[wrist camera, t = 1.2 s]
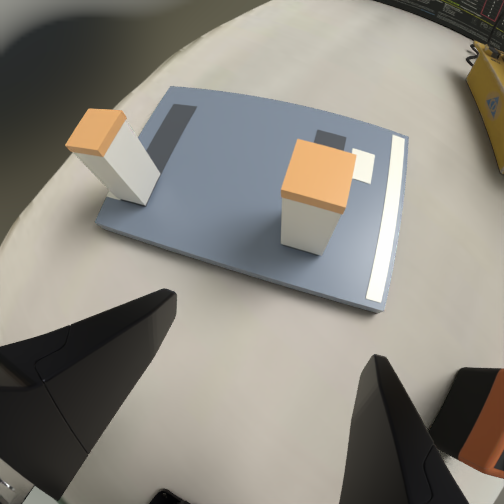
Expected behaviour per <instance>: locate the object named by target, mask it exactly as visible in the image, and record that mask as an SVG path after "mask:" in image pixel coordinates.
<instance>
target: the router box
mask: <svg viewBox="0 0 504 504" xmlns="http://www.w3.org/2000/svg"><path fill="white" fill-rule="evenodd" d="M375 1H379V2H382V3H385V4H388V5H391V6H395V7H398V8H401V9H404V10H406V11H409V12H412V13H414V14H417V15H420V16H422V17H425V18H427V19H430V20H432V21H435V22H437V23H439V24H442V25H444V26H446V27H449V28H451V29H453V30H455V31H457V32H459V33H461V34H463V35H465V36H467V37H469V38H471V39H473V40H475V41H477V42H479V43H482V44H484V45H486V44H487V40H488V37H489V35H490V33H491V31H492V29H493V27H494V25H495V23H496V21H497V19H498V18H499V16H500V15H501V13H502V12H503V11H504V0H375ZM490 47H493V48H494V49H495V48H496V49H497V50H500V51H502V52H504V16H503V17H502V19H501V20H500V22H499V23H498V25H497V27H496V29H495V31H494V33H493V35H492V38H491V40H490Z"/></svg>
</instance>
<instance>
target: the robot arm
mask: <svg viewBox="0 0 504 504" xmlns="http://www.w3.org/2000/svg"><path fill="white" fill-rule="evenodd" d="M176 308H177V294H176V293H175V292H174V291H171V290H168V289H165V288H164V289H161V290H158V291H156V292H153V293H150V294H148V295H145V296H143V297H140V298H138V299H135V300H132V301H130V302H127V303H125V304H122V305H120V306H117V307H114V308H112V309H109V310H107V311H104V312H102V313H99V314H96V315H94V316H91V317H89V318H86V319H84V320H81V321H78V322H76V323H73V324H71V326H70V325H68V326H65V327H63V328H60V329H57V330H55V331H52V332H49V333H46V334H43V335H40V336H37V337H33V338H30V339H27V340H23V341H19V342H16V343H12V344H8V345H5V346H1V347H0V504H22V503H23V502H24V500H25V499H26V497H27V496H28V495H29V493H30V492H31V490H32V489H33V487H34V486H36V487H38V488H39V489H40V490H42V491H43V492H45V493H46V494H48V495H49V496H51V497H52V498H54V499H55V500H57V501H58V500H59V499H60V498H61V496H62V495H63V493H64V492H65V490H66V488H67V487H68V485H69V484H70V482H71V481H72V479H73V478H74V476H75V475H76V473H77V472H78V470H79V468H80V467H81V465H82V464H83V462H84V461H85V459H86V458H87V456H88V454H89V453H90V451H91V450H92V448H93V447H94V445H95V444H96V442H97V441H98V439H99V438H100V436H101V435H102V433H103V432H104V430H105V429H106V427H107V426H108V424H109V423H110V421H111V420H112V418H113V417H114V416H115V414H116V413H117V411H118V410H119V408H120V407H121V405H122V404H123V402H124V401H125V399H126V398H127V396H128V395H129V393H130V392H131V390H132V389H133V387H134V386H135V385H136V383H137V382H138V380H139V379H140V377H141V376H142V374H143V373H144V371H145V370H146V369H147V367H148V366H149V364H150V363H151V361H152V360H153V358H154V357H155V355H156V353H157V351H158V349H159V347H160V346H161V344H162V342H163V340H164V338H165V336H166V334H167V332H168V330H169V328H170V327H171V325H172V323H173V321H174V319H175V316H176ZM433 443H434V442H433V440H432V438H431V436H430V434H429V432H428V430H427V429H426V427H425V425H424V423H423V421H422V419H421V417H420V415H419V414H418V412H417V410H416V408H415V406H414V405H413V403H412V401H411V399H410V397H409V396H408V394H407V392H406V390H405V388H404V387H403V385H402V383H401V381H400V380H399V378H398V376H397V374H396V373H395V371H394V369H393V368H392V366H391V364H390V362H389V361H388V359H387V358H386V357H385V356H381V355H377V354H374V355H373V356H372V357H371V358H370V360H369V361H368V363H367V365H366V366H365V368H364V369H363V371H362V373H361V376H360V380H359V385H358V390H357V395H356V400H355V405H354V409H353V414H352V419H351V426H350V435H349V443H348V451H347V458H346V465H345V472H344V479H343V485H342V491H341V496H340V502H339V504H469V502H468V501H467V499H466V498H465V496H464V494H463V493H462V491H461V489H460V488H459V486H458V485H457V483H456V481H455V480H454V478H453V476H452V475H451V473H450V471H449V470H448V468H447V466H446V465H445V463H444V461H443V459H442V457H441V455H440V453H439V451H438V449H437V447H436V446H435V444H433ZM163 493H165V494H166V495H167V496H164V495H163ZM149 504H190V503H188V502H187V501H184V500H182V499H181V498H179V497H178V496H176V495H175V494H173V493H172V492H170V491H169V490H167V489H161V490H160V491H159V492H158V493H157V495H156V496H155V497H154V498H153V500H152V501H151V502H150V503H149Z"/></svg>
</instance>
